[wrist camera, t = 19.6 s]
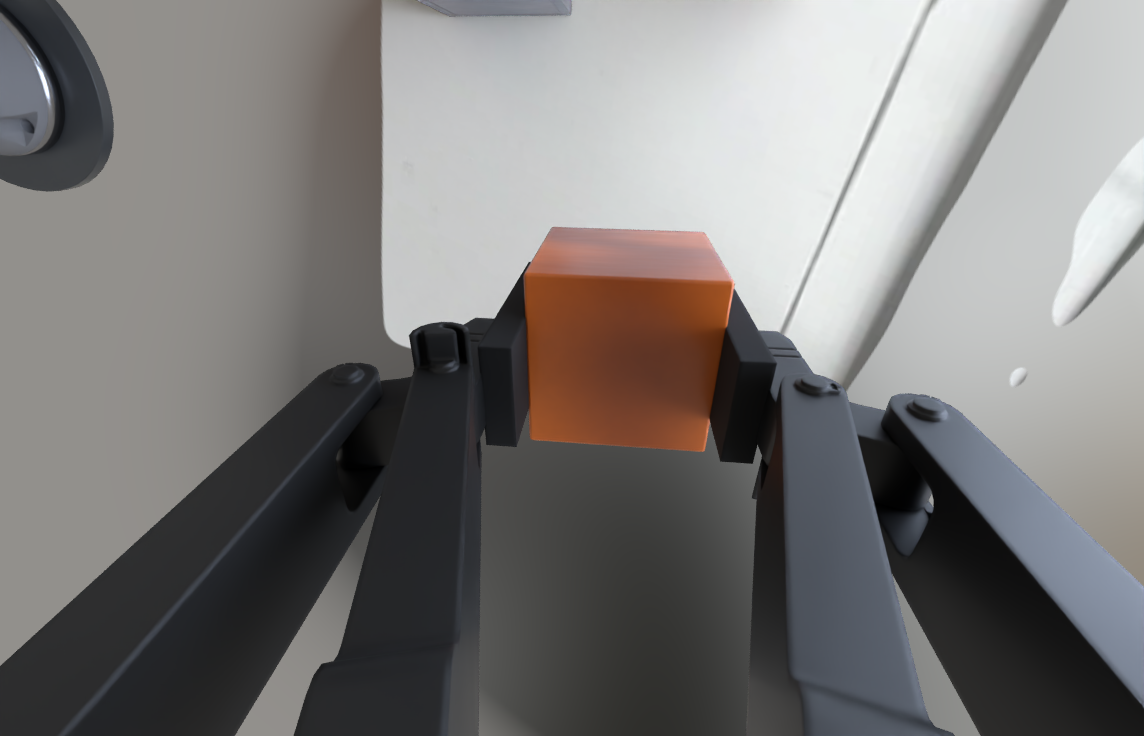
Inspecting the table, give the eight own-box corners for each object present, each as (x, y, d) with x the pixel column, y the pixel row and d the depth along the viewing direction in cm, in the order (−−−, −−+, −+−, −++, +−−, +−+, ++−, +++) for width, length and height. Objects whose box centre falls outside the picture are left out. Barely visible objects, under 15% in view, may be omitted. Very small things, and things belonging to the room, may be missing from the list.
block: (552, 360, 18) (529, 440, 14) (550, 226, 16) (522, 273, 12) (686, 368, 18) (705, 453, 14) (705, 231, 16) (736, 282, 11)
